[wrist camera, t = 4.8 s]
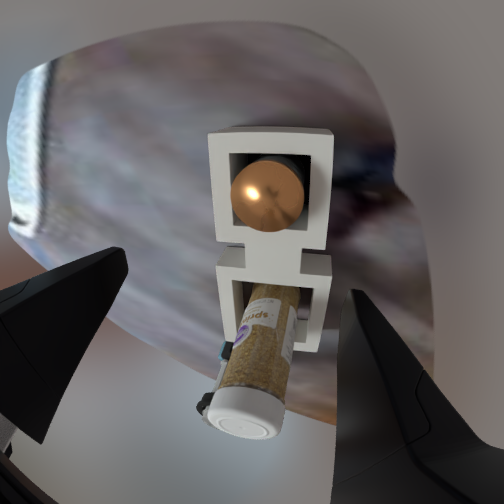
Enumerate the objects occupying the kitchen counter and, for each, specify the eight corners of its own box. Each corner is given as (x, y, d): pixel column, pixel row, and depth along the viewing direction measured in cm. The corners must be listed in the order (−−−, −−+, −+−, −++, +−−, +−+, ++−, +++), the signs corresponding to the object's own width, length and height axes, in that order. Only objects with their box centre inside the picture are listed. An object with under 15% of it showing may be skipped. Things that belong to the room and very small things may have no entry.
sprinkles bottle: (262, 263, 23) (214, 404, 12) (310, 283, 23) (294, 428, 12) (245, 299, 26) (199, 425, 15) (288, 316, 26) (263, 446, 15)
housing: (318, 329, 26) (316, 364, 22) (233, 319, 28) (221, 352, 24) (341, 130, 16) (350, 137, 13) (218, 127, 18) (193, 134, 14)
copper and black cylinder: (305, 201, 20) (301, 234, 15) (252, 198, 20) (232, 229, 16) (307, 148, 18) (305, 164, 13) (250, 146, 18) (228, 161, 14)
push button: (283, 359, 30) (268, 436, 21) (253, 372, 32) (234, 440, 24) (241, 327, 28) (213, 408, 20) (213, 344, 31) (183, 414, 23)
